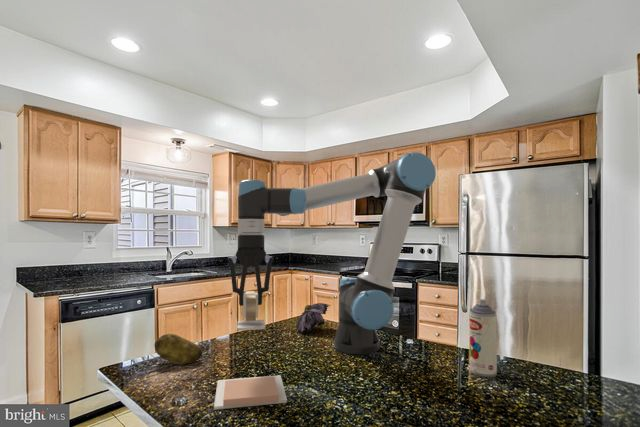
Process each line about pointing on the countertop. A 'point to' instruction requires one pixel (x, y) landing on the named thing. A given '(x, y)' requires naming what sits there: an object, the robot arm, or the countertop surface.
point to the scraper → (250, 315)
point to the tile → (250, 391)
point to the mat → (220, 397)
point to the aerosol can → (483, 340)
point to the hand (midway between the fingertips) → (250, 316)
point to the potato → (177, 349)
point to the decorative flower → (312, 317)
